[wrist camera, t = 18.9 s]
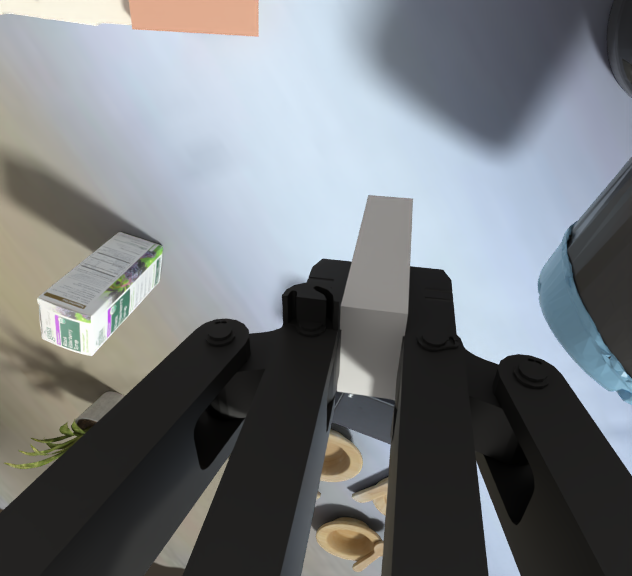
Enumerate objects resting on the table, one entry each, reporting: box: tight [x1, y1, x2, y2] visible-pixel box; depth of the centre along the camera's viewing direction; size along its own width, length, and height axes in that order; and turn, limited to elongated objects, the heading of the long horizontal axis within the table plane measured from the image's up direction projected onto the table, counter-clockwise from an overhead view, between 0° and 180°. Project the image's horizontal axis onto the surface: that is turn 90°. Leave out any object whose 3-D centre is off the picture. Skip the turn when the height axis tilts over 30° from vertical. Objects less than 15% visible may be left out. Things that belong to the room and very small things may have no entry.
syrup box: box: [37, 232, 163, 356], centre depth 51 cm, size 6×6×14 cm
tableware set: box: [316, 429, 388, 572], centre depth 74 cm, size 35×29×4 cm
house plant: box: [5, 391, 124, 469], centre depth 67 cm, size 14×14×16 cm
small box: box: [332, 388, 395, 444], centre depth 54 cm, size 11×6×10 cm, turn 72°
